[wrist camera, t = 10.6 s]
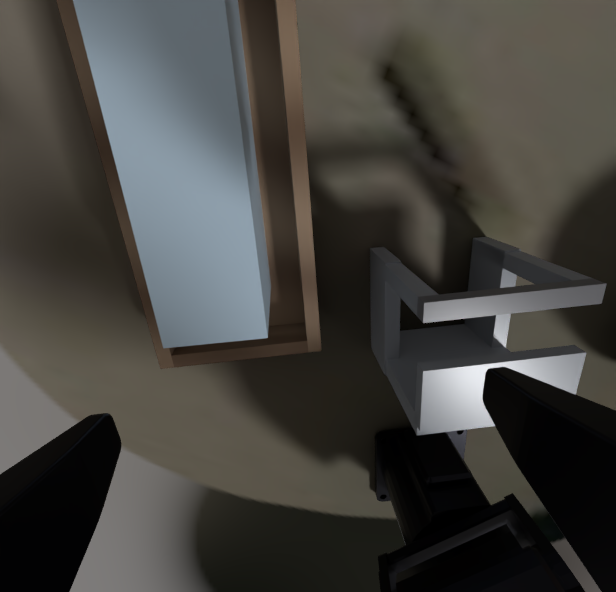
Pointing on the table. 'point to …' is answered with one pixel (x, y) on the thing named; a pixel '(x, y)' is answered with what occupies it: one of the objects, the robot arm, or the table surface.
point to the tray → (272, 181)
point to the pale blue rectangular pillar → (184, 160)
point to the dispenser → (469, 332)
